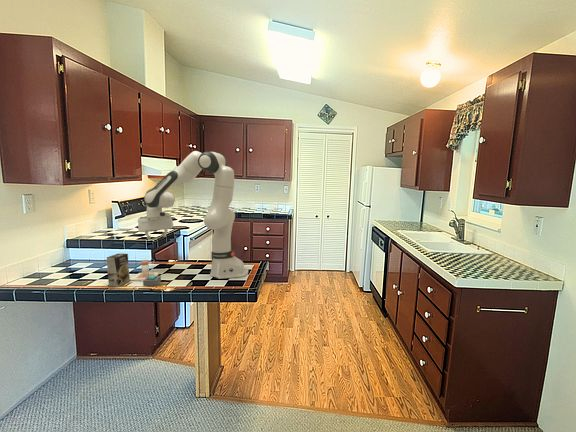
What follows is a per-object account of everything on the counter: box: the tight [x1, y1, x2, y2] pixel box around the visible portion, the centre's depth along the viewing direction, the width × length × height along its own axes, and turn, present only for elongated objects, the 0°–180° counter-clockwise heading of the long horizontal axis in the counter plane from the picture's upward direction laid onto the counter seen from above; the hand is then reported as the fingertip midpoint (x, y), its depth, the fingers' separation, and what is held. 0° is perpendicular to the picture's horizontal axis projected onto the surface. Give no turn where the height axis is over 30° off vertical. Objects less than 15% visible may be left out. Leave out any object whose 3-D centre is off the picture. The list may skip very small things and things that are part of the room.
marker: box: [141, 259, 150, 277], centre depth 181 cm, size 4×4×9 cm
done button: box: [148, 275, 156, 280], centre depth 171 cm, size 4×4×2 cm
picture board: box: [130, 272, 161, 282], centre depth 182 cm, size 12×12×1 cm
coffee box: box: [106, 253, 131, 288], centre depth 171 cm, size 9×6×16 cm
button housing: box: [142, 275, 162, 287], centre depth 171 cm, size 7×7×3 cm
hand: (156, 237), depth 190 cm, fingers open, 8 cm apart
